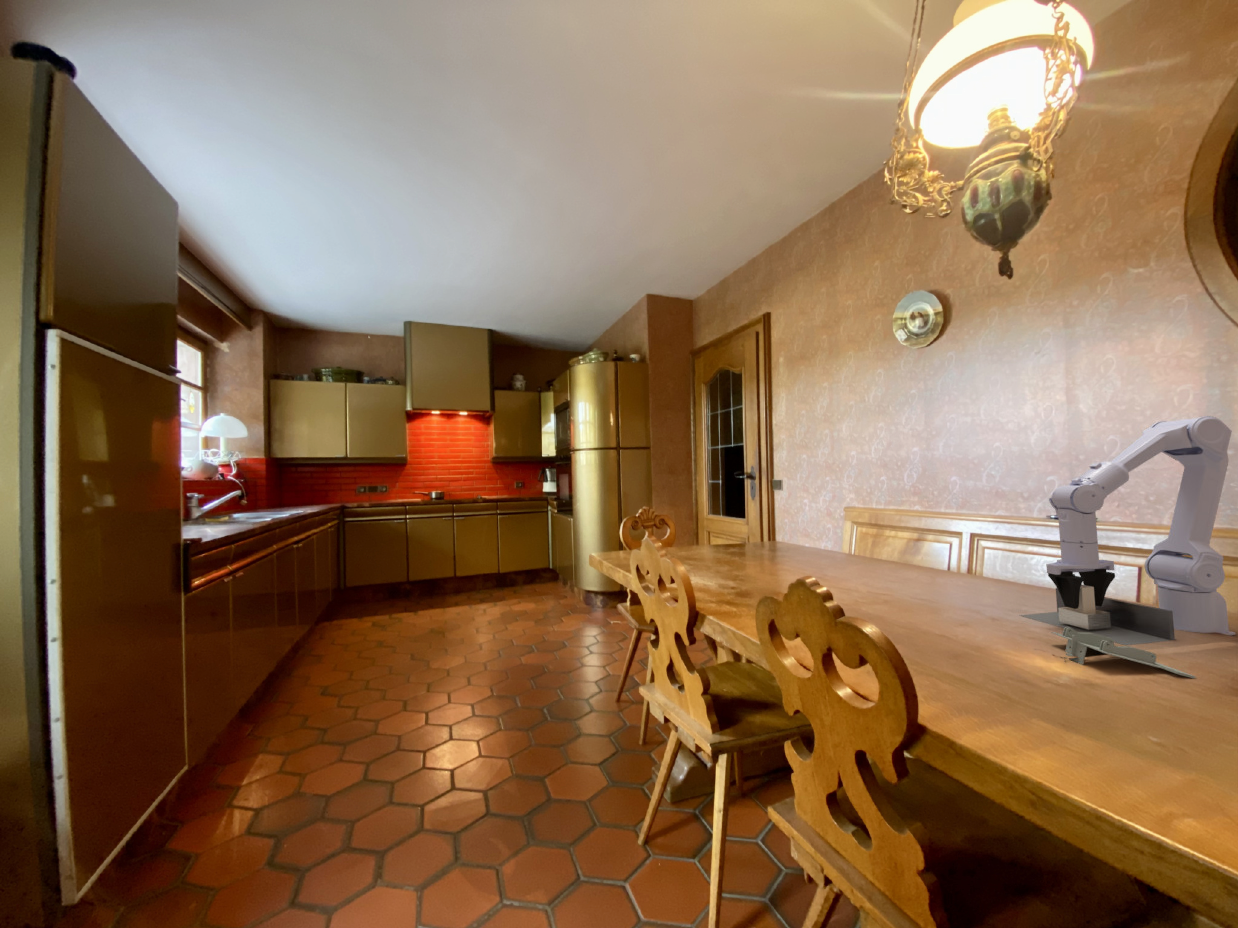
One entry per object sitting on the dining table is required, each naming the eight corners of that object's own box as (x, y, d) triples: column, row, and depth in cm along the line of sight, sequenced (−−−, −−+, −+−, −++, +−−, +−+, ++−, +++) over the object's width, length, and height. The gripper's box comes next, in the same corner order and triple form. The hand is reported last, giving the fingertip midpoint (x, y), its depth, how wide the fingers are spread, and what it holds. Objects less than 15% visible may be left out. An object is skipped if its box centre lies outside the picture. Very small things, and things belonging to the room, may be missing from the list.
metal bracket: (1114, 644, 76) (1038, 617, 91) (1106, 679, 76) (1031, 646, 91) (1207, 669, 75) (1115, 637, 90) (1199, 704, 75) (1108, 666, 90)
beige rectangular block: (1080, 618, 100) (1077, 583, 100) (1096, 622, 97) (1093, 586, 97) (1068, 619, 99) (1065, 584, 100) (1084, 624, 97) (1081, 587, 97)
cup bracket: (1060, 611, 109) (1059, 587, 109) (1174, 639, 89) (1172, 610, 89) (1025, 614, 107) (1023, 590, 107) (1133, 644, 87) (1130, 614, 88)
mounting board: (1063, 615, 109) (1062, 611, 109) (1177, 644, 89) (1176, 639, 89) (1019, 619, 107) (1018, 615, 107) (1125, 650, 87) (1125, 645, 87)
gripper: (1085, 537, 103) (1089, 598, 103) (1030, 541, 101) (1034, 603, 101) (1124, 541, 97) (1129, 607, 96) (1065, 545, 94) (1070, 612, 94)
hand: (1083, 606), depth 98 cm, fingers open, 5 cm apart
